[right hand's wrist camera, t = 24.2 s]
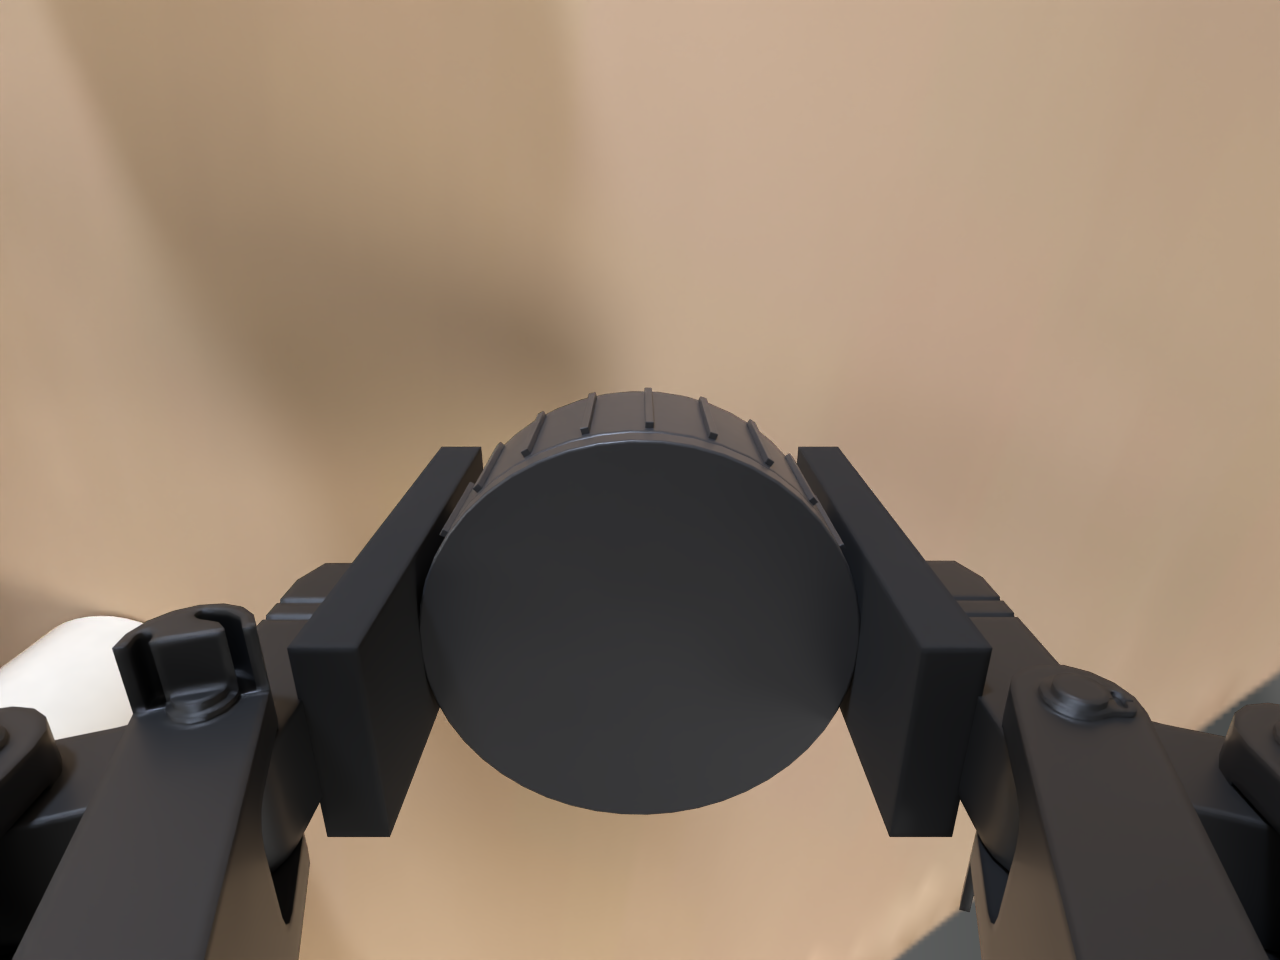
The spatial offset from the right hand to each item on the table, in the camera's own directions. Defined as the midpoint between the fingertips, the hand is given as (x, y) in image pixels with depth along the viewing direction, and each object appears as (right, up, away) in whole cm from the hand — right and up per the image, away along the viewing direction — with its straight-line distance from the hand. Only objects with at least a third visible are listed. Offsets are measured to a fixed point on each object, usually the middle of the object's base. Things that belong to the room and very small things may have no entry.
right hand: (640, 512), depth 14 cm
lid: (0, -2, -4) cm, 4 cm away
